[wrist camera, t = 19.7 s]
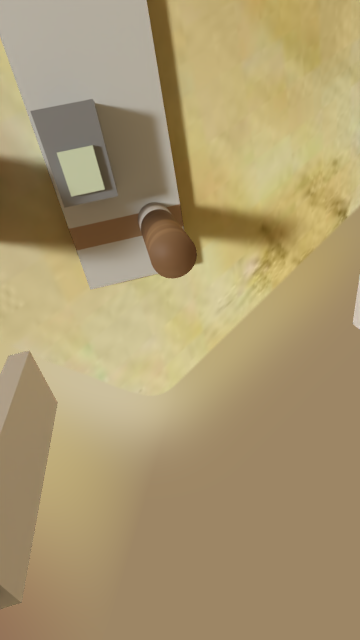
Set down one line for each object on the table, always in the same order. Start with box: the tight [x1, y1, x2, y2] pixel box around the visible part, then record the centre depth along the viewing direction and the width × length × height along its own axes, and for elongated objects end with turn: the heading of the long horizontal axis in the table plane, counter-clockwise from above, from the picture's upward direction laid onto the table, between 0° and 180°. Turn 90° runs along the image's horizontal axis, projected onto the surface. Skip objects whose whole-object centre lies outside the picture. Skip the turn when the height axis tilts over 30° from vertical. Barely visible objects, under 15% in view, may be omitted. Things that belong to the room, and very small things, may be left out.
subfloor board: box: [0, 0, 184, 289], centre depth 26 cm, size 25×10×2 cm, turn 10°
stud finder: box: [30, 99, 118, 208], centre depth 23 cm, size 6×4×4 cm, turn 10°
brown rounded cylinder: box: [138, 202, 197, 278], centre depth 25 cm, size 3×3×10 cm
